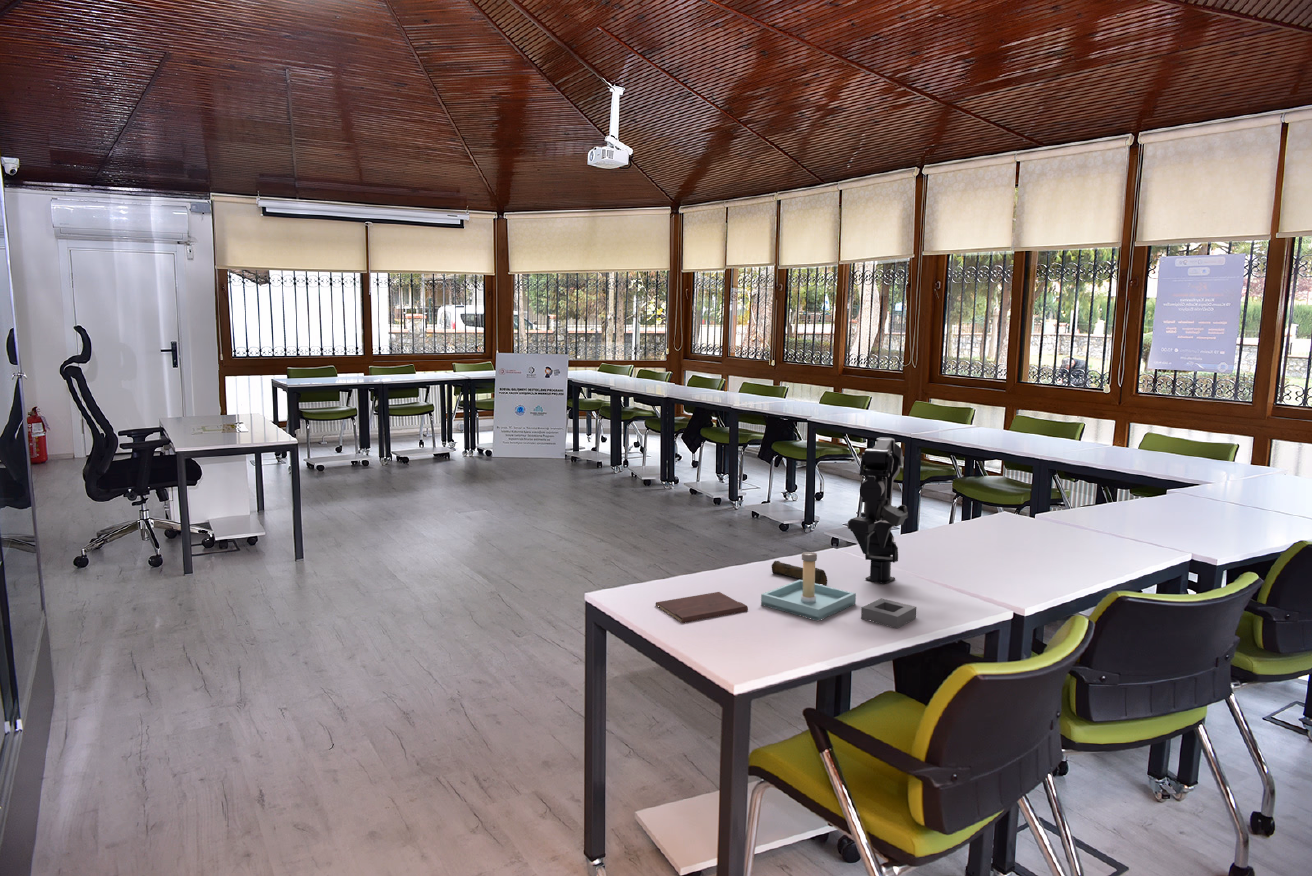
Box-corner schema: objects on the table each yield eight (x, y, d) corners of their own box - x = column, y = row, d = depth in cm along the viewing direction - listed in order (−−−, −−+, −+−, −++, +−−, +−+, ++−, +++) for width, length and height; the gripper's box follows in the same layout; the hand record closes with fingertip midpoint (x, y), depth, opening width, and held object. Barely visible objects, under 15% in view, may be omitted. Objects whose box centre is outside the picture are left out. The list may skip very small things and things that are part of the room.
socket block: (880, 609, 219) (881, 598, 219) (916, 618, 212) (916, 606, 212) (861, 618, 212) (861, 607, 212) (897, 628, 205) (897, 616, 205)
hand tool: (770, 574, 252) (770, 559, 251) (778, 571, 254) (779, 557, 254) (820, 589, 238) (821, 573, 237) (829, 586, 240) (829, 570, 240)
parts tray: (799, 589, 236) (799, 579, 235) (855, 604, 223) (855, 593, 223) (761, 605, 223) (761, 594, 223) (818, 621, 211) (818, 609, 210)
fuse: (813, 598, 225) (814, 551, 224) (817, 603, 221) (819, 555, 220) (798, 598, 225) (799, 552, 223) (803, 603, 221) (804, 556, 219)
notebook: (655, 607, 223) (655, 600, 223) (718, 596, 232) (718, 590, 232) (682, 625, 210) (682, 617, 209) (747, 613, 219) (748, 605, 218)
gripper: (885, 504, 214) (883, 563, 216) (919, 493, 227) (917, 549, 229) (847, 498, 222) (845, 555, 224) (882, 488, 235) (880, 542, 237)
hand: (873, 550), depth 228 cm, fingers open, 9 cm apart
